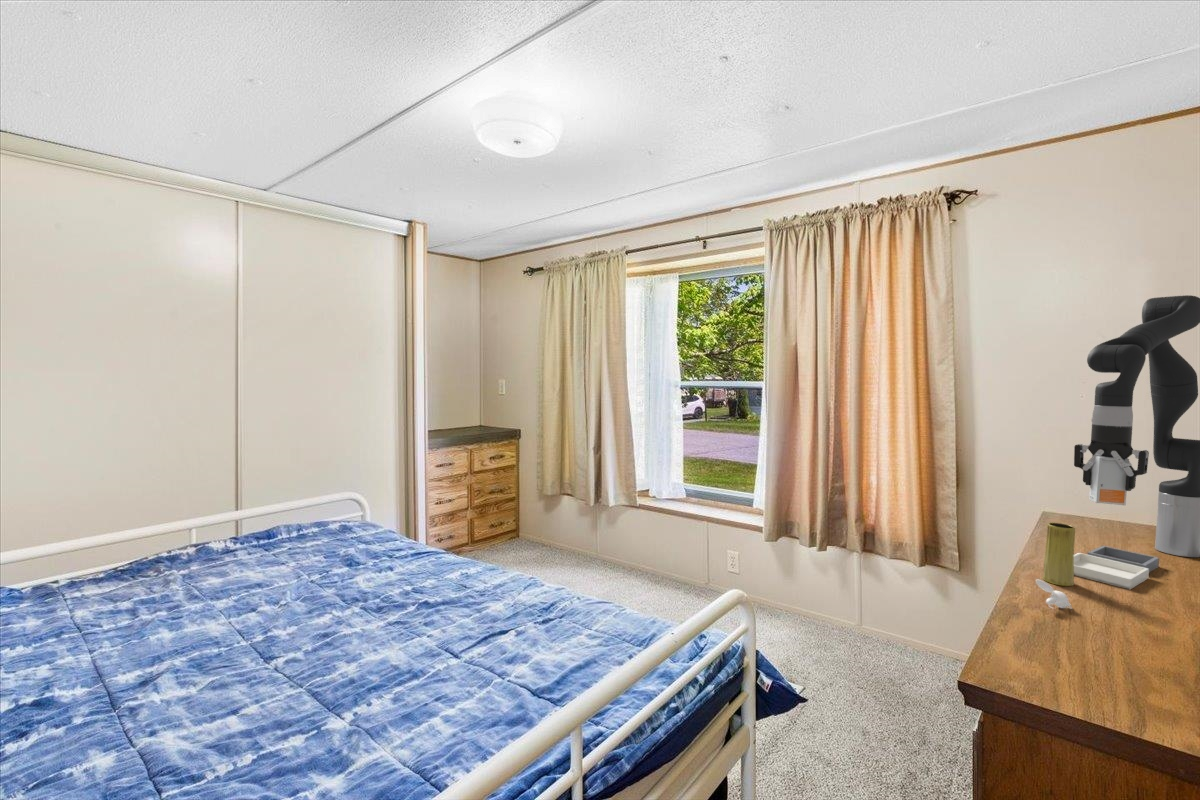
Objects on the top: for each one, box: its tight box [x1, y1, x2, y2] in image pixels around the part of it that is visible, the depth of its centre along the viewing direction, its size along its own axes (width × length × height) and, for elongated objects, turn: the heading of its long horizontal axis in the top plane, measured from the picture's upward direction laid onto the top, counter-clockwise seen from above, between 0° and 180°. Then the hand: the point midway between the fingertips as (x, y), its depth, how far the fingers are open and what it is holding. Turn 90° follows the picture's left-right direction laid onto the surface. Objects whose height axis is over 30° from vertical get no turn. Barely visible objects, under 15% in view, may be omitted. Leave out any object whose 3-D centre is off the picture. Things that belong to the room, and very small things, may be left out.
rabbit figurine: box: [1035, 579, 1073, 610], centre depth 120 cm, size 6×4×8 cm
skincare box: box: [1088, 454, 1130, 506], centre depth 139 cm, size 6×4×12 cm
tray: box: [1074, 552, 1150, 590], centre depth 140 cm, size 14×14×2 cm
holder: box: [1087, 545, 1160, 573], centre depth 148 cm, size 12×12×2 cm
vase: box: [1041, 522, 1076, 587], centre depth 135 cm, size 6×6×14 cm
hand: (1107, 487), depth 139 cm, fingers closed on skincare box, 7 cm apart
